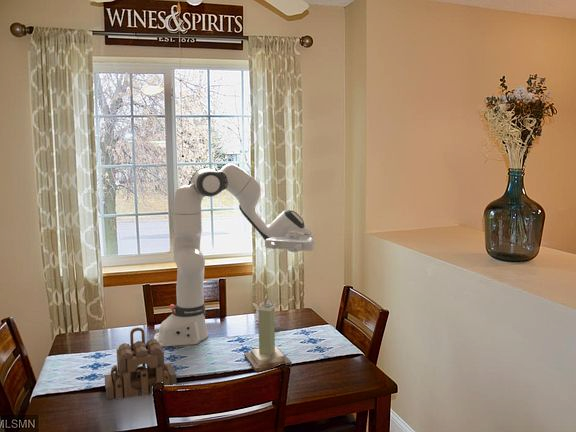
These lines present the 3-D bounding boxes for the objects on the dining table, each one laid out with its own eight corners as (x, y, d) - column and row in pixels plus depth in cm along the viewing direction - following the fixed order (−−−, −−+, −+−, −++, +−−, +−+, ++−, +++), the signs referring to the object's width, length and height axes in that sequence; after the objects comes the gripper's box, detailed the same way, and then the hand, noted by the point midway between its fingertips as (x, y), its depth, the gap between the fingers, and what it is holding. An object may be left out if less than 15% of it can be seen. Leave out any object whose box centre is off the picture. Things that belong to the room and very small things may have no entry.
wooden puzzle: (107, 403, 154) (104, 346, 152) (104, 383, 168) (101, 330, 165) (178, 389, 163) (176, 335, 161) (169, 371, 176) (167, 321, 174)
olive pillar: (259, 354, 183) (258, 307, 180) (263, 349, 187) (263, 303, 184) (270, 355, 181) (270, 308, 179) (274, 350, 185) (274, 304, 183)
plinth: (255, 371, 175) (255, 363, 175) (244, 356, 188) (244, 348, 188) (291, 365, 180) (291, 356, 180) (278, 350, 193) (278, 343, 193)
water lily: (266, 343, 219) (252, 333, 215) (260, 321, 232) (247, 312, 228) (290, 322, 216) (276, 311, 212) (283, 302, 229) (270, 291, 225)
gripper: (271, 232, 210) (259, 238, 197) (317, 235, 204) (308, 241, 191) (271, 247, 211) (259, 253, 198) (317, 250, 205) (308, 257, 192)
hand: (283, 247), depth 194 cm, fingers open, 8 cm apart
